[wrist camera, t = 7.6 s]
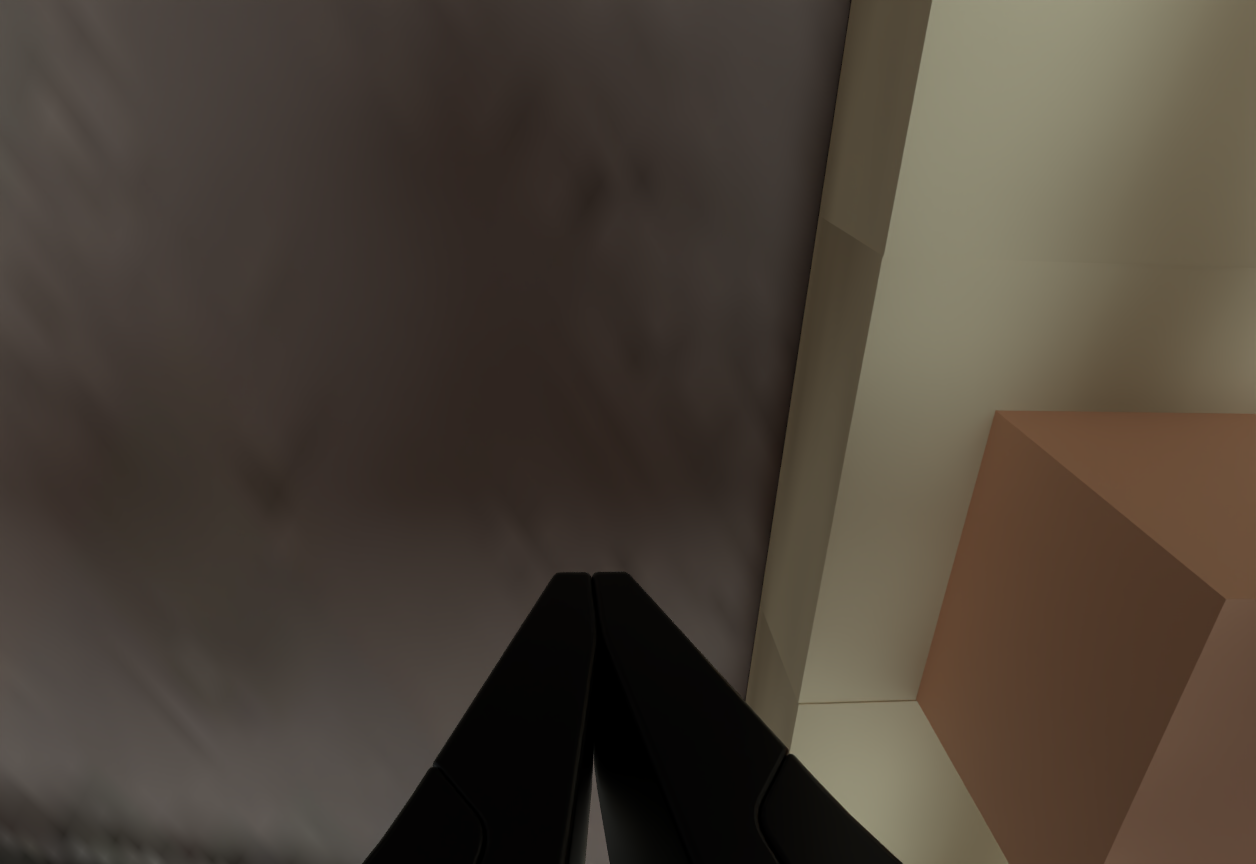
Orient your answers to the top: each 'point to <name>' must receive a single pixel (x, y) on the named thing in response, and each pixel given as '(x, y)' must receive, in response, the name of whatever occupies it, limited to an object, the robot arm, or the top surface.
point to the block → (1105, 639)
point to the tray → (987, 333)
